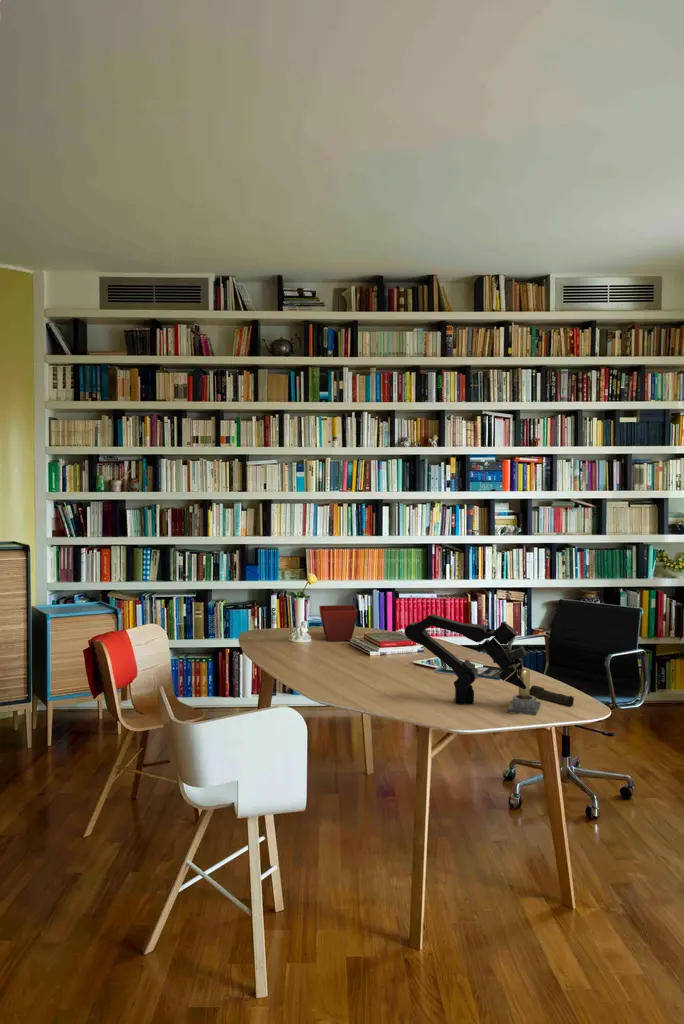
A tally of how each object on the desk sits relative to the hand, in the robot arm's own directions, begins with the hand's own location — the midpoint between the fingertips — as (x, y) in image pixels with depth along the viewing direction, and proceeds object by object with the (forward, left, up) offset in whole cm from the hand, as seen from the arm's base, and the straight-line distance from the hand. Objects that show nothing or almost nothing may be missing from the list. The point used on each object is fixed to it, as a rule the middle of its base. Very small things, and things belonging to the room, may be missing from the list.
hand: (527, 685), depth 282 cm
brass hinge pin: (-1, 0, -7) cm, 8 cm away
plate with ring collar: (-1, 0, -9) cm, 9 cm away
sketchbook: (-10, +58, -9) cm, 59 cm away
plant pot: (-72, +129, -9) cm, 148 cm away
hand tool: (+11, +11, -9) cm, 18 cm away
